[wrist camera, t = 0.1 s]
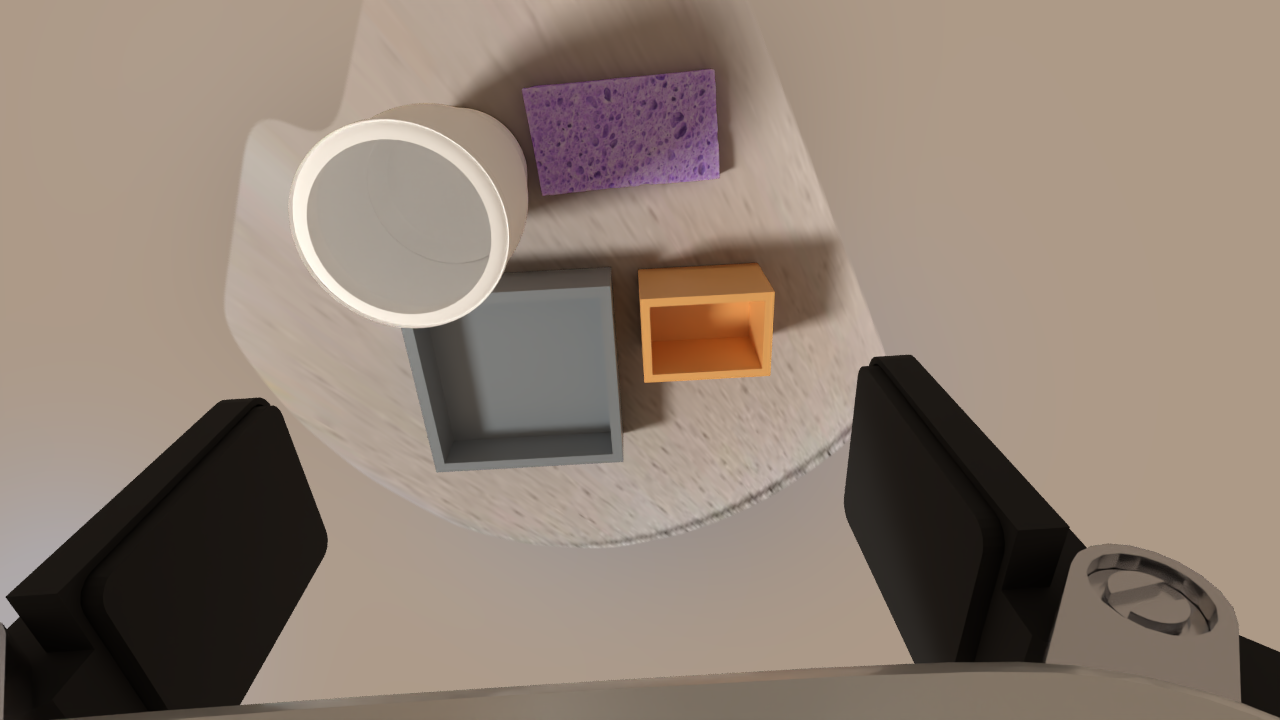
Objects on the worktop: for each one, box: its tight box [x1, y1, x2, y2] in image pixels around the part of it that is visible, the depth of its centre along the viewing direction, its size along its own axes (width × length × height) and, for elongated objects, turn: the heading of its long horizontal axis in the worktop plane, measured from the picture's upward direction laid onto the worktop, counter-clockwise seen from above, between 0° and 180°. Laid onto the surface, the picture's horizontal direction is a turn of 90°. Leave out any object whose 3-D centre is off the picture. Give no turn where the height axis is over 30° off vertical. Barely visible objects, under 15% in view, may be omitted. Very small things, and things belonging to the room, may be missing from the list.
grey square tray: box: [401, 267, 623, 472], centre depth 49 cm, size 15×15×4 cm
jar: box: [289, 103, 528, 328], centre depth 37 cm, size 11×10×15 cm
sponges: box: [522, 69, 720, 196], centre depth 43 cm, size 7×13×2 cm, turn 95°
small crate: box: [638, 263, 775, 383], centre depth 46 cm, size 6×9×6 cm
